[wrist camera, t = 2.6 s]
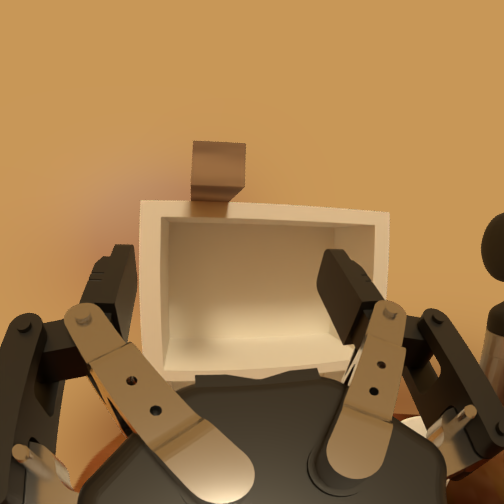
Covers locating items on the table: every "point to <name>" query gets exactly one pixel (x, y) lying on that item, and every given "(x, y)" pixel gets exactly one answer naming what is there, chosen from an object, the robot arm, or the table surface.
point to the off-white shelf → (247, 286)
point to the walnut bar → (217, 170)
